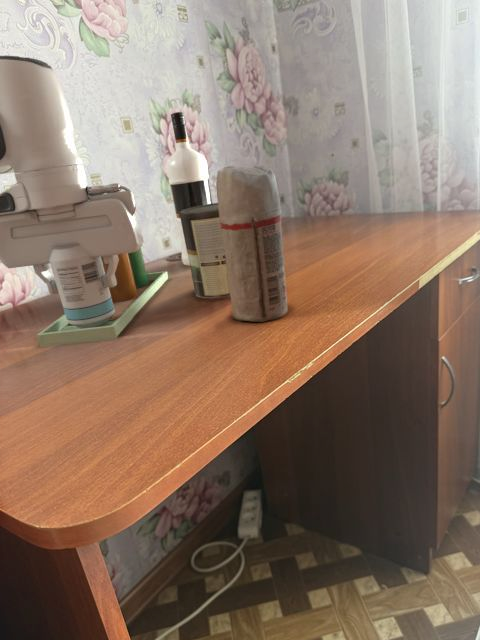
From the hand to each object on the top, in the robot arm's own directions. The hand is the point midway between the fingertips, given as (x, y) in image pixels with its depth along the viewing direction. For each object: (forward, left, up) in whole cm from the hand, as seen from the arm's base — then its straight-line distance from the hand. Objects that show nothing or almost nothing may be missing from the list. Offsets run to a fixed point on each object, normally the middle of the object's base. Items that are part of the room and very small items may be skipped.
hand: (83, 289), depth 73 cm
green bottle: (0, +21, -6) cm, 22 cm away
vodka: (+11, +38, -6) cm, 40 cm away
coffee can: (+19, +12, -6) cm, 23 cm away
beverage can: (0, 0, -5) cm, 5 cm away
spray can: (+26, -2, -6) cm, 26 cm away
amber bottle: (0, +14, -6) cm, 15 cm away
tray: (0, +9, -6) cm, 11 cm away
